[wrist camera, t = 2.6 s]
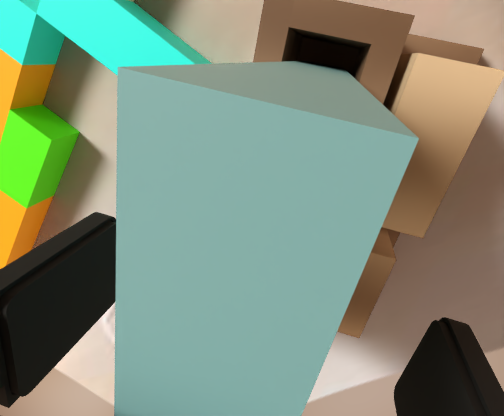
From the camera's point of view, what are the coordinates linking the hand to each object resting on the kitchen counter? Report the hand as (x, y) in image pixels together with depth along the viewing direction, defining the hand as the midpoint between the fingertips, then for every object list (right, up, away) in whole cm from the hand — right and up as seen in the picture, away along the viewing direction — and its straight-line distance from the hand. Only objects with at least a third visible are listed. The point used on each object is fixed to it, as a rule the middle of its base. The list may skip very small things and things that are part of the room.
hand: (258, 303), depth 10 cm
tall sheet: (+2, +5, +9) cm, 11 cm away
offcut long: (+7, +7, +7) cm, 12 cm away
